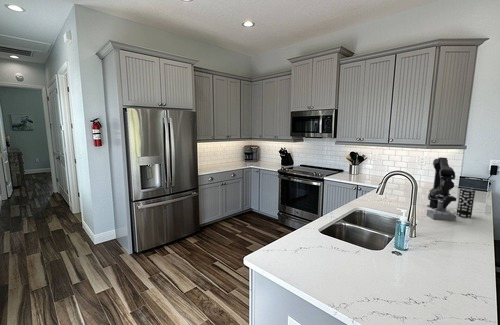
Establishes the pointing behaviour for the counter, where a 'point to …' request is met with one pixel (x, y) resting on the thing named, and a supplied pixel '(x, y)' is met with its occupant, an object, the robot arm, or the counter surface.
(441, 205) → the lens
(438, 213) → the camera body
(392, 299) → the counter surface
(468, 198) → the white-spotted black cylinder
